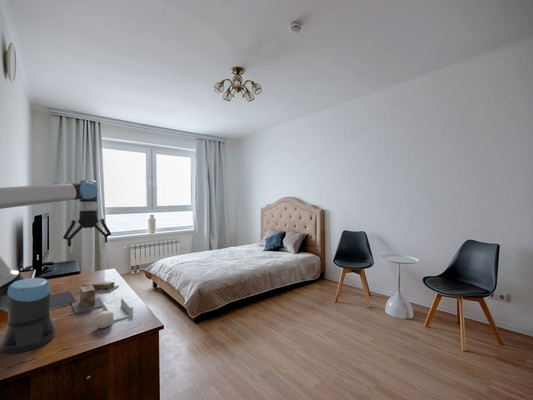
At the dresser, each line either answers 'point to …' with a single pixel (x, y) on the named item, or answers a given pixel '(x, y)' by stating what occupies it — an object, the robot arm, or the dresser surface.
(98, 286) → the packaged product
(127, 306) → the rack
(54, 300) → the notebook
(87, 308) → the felt pad
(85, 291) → the panel
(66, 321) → the dresser surface
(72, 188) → the robot arm
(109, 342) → the dresser surface
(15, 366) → the dresser surface
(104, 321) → the cream piece
